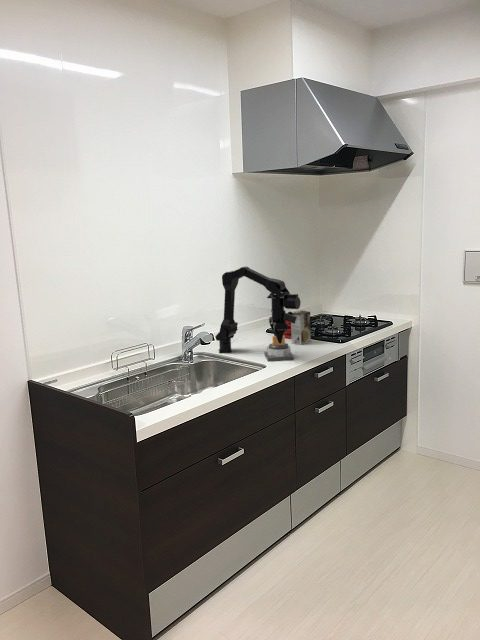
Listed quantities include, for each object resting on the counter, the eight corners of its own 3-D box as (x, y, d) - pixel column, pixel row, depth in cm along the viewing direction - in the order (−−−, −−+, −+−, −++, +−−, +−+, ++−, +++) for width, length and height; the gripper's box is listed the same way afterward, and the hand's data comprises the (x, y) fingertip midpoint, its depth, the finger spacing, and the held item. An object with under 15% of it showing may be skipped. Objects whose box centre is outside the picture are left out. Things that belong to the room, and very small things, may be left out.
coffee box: (300, 340, 287) (300, 310, 284) (311, 341, 283) (310, 311, 280) (291, 343, 280) (290, 313, 277) (301, 345, 276) (301, 314, 273)
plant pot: (283, 334, 303) (283, 313, 301) (307, 335, 299) (306, 313, 296) (277, 339, 291) (277, 317, 289) (301, 340, 287) (301, 318, 284)
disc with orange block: (267, 349, 257) (267, 334, 256) (286, 348, 258) (286, 333, 257) (270, 353, 248) (270, 339, 247) (289, 352, 249) (289, 338, 248)
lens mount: (264, 354, 259) (264, 344, 258) (289, 353, 260) (289, 343, 259) (267, 361, 247) (267, 350, 246) (293, 359, 248) (293, 349, 247)
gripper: (299, 310, 241) (299, 344, 244) (291, 304, 259) (291, 336, 262) (274, 311, 240) (274, 346, 243) (268, 305, 258) (269, 337, 261)
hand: (278, 341), depth 252 cm, fingers open, 9 cm apart
